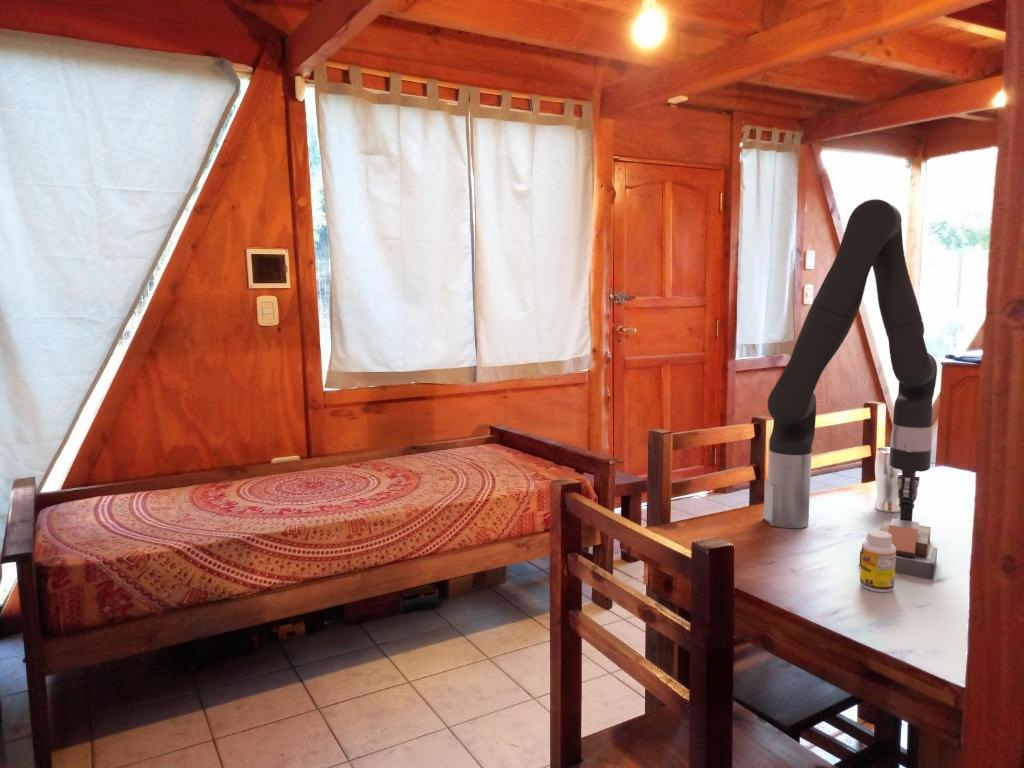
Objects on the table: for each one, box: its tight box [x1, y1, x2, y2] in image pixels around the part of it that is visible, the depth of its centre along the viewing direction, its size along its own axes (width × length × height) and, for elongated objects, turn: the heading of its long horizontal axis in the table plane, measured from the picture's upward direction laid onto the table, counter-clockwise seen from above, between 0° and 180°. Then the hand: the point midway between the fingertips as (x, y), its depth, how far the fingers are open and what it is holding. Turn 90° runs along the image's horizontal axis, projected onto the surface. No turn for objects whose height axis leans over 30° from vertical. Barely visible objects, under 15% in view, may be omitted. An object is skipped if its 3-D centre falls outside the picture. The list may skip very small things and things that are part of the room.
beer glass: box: [874, 446, 902, 514], centre depth 172 cm, size 7×7×15 cm
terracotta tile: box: [888, 525, 917, 557], centre depth 142 cm, size 5×5×2 cm
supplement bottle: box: [859, 529, 896, 593], centre depth 128 cm, size 6×6×10 cm
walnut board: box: [879, 519, 931, 558], centre depth 149 cm, size 12×9×3 cm
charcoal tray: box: [859, 536, 938, 580], centre depth 139 cm, size 10×13×3 cm
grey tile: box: [890, 518, 920, 538], centre depth 146 cm, size 5×5×2 cm
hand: (905, 525), depth 150 cm, fingers closed
